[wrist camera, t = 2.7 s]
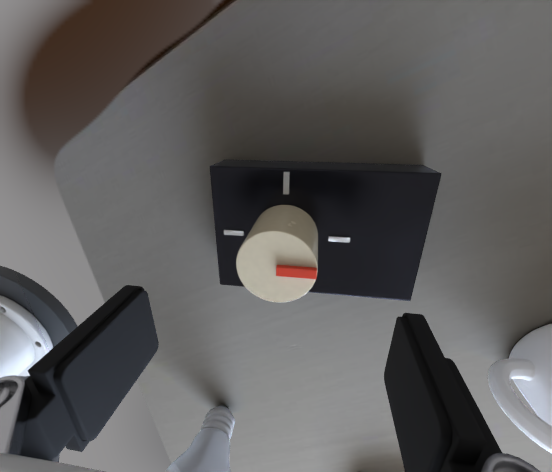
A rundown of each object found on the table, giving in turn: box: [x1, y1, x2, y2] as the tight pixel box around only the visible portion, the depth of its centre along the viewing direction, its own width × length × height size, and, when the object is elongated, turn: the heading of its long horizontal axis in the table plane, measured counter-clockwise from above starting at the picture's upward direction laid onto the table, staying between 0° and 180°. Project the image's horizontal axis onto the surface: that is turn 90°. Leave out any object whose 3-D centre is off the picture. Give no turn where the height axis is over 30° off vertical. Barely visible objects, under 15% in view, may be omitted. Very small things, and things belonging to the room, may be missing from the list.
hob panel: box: [210, 160, 441, 301], centre depth 20 cm, size 14×9×3 cm, turn 90°
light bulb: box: [165, 405, 235, 472], centre depth 26 cm, size 7×7×12 cm
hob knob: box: [236, 205, 318, 302], centre depth 17 cm, size 4×4×5 cm
